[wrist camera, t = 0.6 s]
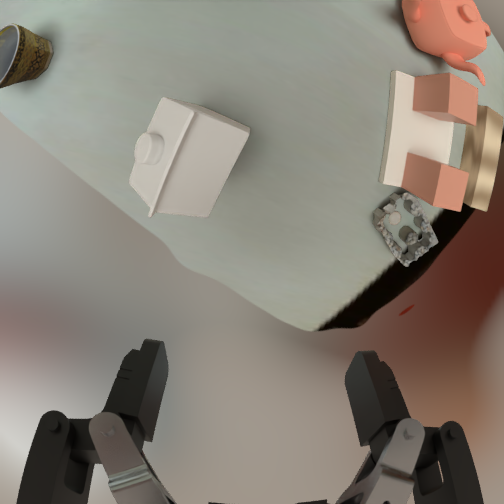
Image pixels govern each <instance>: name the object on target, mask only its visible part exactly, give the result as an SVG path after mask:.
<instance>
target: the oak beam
mask: <svg viewBox="0 0 504 504" xmlns="http://www.w3.org/2000/svg"><path fill="white" fill-rule="evenodd" d="M502 126H503V117H502V116H501V115H500V114H498V113H497V112H495V111H494V110H492V109H491V108H489V107H488V106H480V105H477V120H476V126H472V125H467V124H466V133H465V140H464V147H463V153H462V159H461V164H460V170H463V171H465V172H468V173H469V176H468V181H467V186H466V190H465V195H464V199H463V202H464V203H466V204H467V205H469V206H471V207H474V208H477V209H481V210H484V211H487V208H488V205H489V201H490V197H491V193H492V189H493V184H494V180H495V175H496V169H497V163H498V158H499V151H500V144H501V136H502Z"/></svg>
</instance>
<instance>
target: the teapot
mask: <svg viewBox="0 0 504 504" xmlns="http://www.w3.org/2000/svg"><path fill="white" fill-rule="evenodd" d="M402 9H403V15H404V19H405V22H406V25H407V28H408V30H409V33H410V36H411V39H412V41H413V42H414V44H415V45H416V47H417V48H418V49H420V50H422V51H424V52H426V53H429V54H432V55H435V56H438V57H441V58H443V59H444V60H445V62H446V63H447V64H448V65H450V66H451V67H453V68H455V69H458V70H462V71H468V72H472V73H473V74H475V75H476V76H477V77H478V79H479V80H480V82H481V83H482V84H483V85H484V86H485V78H484V75H483V73H482V71H481V69H480V68H479V67H478V66H477V65H475V64H473V63H470V62H465V61H466V60H469V59H472V58H474V57H476V56H478V55H479V54H480V53H482V52H483V51H484V50H485V49H486V46H487V41H486V37H487V36H490V35H491V31H490V28H489V26H488V25H487V24H486V23H485V22H483V21H482V19H481V16H480V14H479V11H478V9H477V7H476V5H475V3H474V1H473V0H402Z"/></svg>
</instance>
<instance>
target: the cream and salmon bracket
mask: <svg viewBox="0 0 504 504" xmlns="http://www.w3.org/2000/svg"><path fill="white" fill-rule="evenodd" d="M477 105H478V88H476V87H474V86H473V85H471V84H469V83H468V82H466V81H464V80H462V79H461V78H459V77H457V76H455V75H453V74H451V73H443V74H434V75H426V76H418V77H413V76H410V75H408V74H405V73H402V72H400V71H397V70H395V71H391V81H390V96H389V108H388V118H387V127H386V136H385V143H384V150H383V157H382V164H381V170H380V176H379V182H381V183H383V184H388V185H393V186H398V187H402V188H404V189H405V190H407V191H409V192H411V193H412V194H414V195H416V196H417V197H419V198H421V199H422V200H424V201H426V202H427V203H429V204H430V205H432V206H436V207H441V208H445V209H450V210H455V211H459V212H460V211H461V207H462V203H463V199H464V195H465V190H466V186H467V181H468V176H469V173H468V172H465V171H463V170H460V169H458V168H455V167H453V166H450V165H448V162H449V156H450V150H451V143H452V135H453V126H454V122H455V123H461V124H467V125H472V126H476V120H477Z"/></svg>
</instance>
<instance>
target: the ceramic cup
mask: <svg viewBox="0 0 504 504" xmlns="http://www.w3.org/2000/svg"><path fill="white" fill-rule="evenodd" d="M52 55H53V49H52V44H51V42H50V41H48V40H46V39H44V38H42V37H40V36H38V35H36V34H34V33H32V32H31V31H29V30H28V29H26V28H24V27H22V26H19V25H16V24H8V25H6V26H4V27H3V28H2V29H1V30H0V88H3V87H7V86H9V85H12V84H15V83H19V82H23V81H27V80H32V79H36V78H37V77H38V76H39V75H40V74H42V73H43V72H44V71H45V70H46V69H47V68H48V65H49V63H50V60H51V58H52Z"/></svg>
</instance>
